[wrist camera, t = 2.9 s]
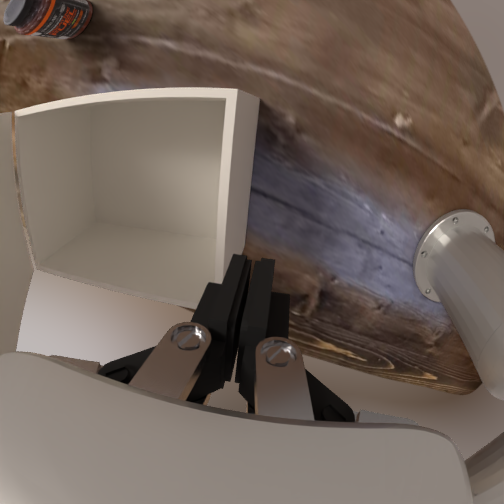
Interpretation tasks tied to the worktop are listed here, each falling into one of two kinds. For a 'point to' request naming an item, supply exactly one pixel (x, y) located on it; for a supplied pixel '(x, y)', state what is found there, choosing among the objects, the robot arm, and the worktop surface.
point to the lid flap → (11, 246)
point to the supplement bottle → (49, 17)
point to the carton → (139, 187)
